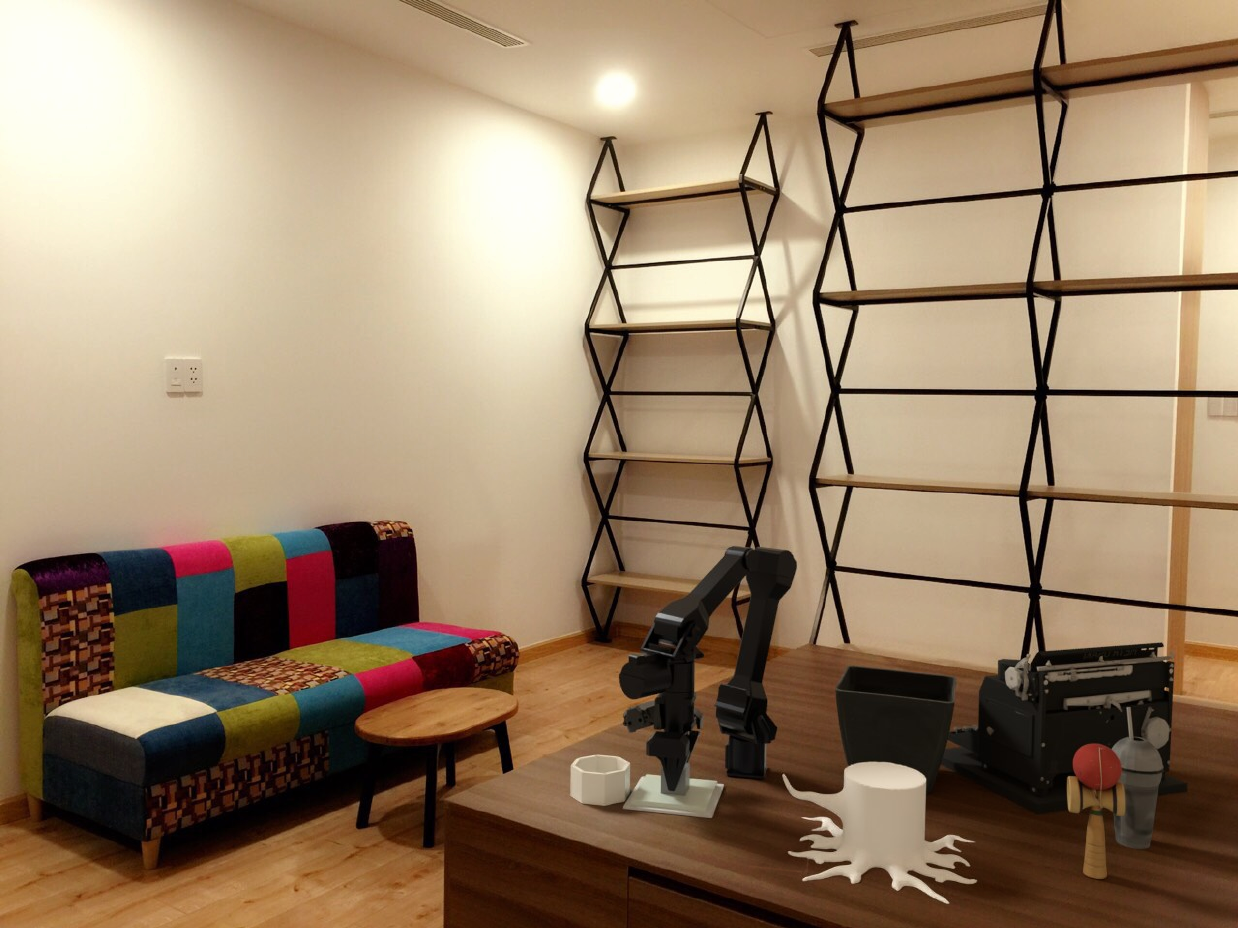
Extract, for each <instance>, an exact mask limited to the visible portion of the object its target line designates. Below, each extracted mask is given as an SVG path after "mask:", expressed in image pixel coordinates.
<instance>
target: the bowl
mask: <svg viewBox="0 0 1238 928" xmlns="http://www.w3.org/2000/svg"><path fill="white" fill-rule="evenodd" d="M569 786H570V789H569V790H570V791H569V793H570V794H569V796H570V797H571V798H573V799H574V800H576V801H577V802H578V803H581V804H584V805H594V806H602V807H605V806H610V805H613V804H619V803H624V802H626V801H627V799H628V798H629V796H630V795H631V762H629V761H628V760H625V759H624V758H622V757H620V756H618V755H617V756H616V755H607V754H605V755H604V754H593V755H592V754H591V755H586V756H581V757H577V758H576V759H575V760H574V761H573V762H572V763H571V764H570V785H569Z"/></svg>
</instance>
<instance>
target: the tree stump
mask: <svg viewBox="0 0 1238 928" xmlns="http://www.w3.org/2000/svg"><path fill="white" fill-rule="evenodd" d="M843 772H844V773H843V789H842V790H841V791H838V792H837V793H830V794H829V793H828V794H827V793H826V794H825V793H820V792H819V793H818V792H815V791H799V790H796V789H795V788H794V787H793V786H792V785H791V783H790V781H789V779H788V778H787V776H786V775H785V773H783V774H782V780H783V782H784V784H785V787H786V788H787V790H788V792H789V793H790V795H792V796H793V797H794V798H796V799H799V800H802V801H809V802H812V803H814V804H816V805H818V806H819V807H821V808H824V809H826V810H828V811H830V812H832V813H833V814H835V815H836V816H838V817H839V819H840V820H841V822H842V829H841V828H840V827H839V826H838V825H836V824H835V823H834V821H833V820H832V819H831V818H830V817H827V816H817V817H806V816H805V817H804V816H803V817H801V818H802V819H805V820H808V821H817V822H818V821H819V822H822V824H821V827H817V828H813V829H811V831H812V832H821V831H822V832H823V831H827V832H828V831H829V833H830V834H831V835H832V836H833V837H826V836H823V835H822V834H821V835H820V834H809V835H804V836H802V837H800V839H799V842H803V841H807V840H809V841H812V842H813V843H812V845H810V848H811V849H821V850H830V849H834V850H836V851H833V852H832V851H831V852H829V851H821V850H808V851H802V852H794V851H790V850H789V851H787V853H788V855H790V856H791V857H792V856H793V857H798V858H806V859H808V860H813V861H815V863H816V864H819V865H822V864H824V863H829V862H830V863H837V862H839V863H841V862H844V861H845V862H846V861H847V862H851V864H847V865H844V864H843V865H837V866H834V867H832V868H829V869H827V870H824V871H822V872H820V873H817V874H812V875H809V876H806V877H804V878H802V882H807V881H814V880H823V879H826V878H830V877H834V876H844V877H847V878H848V879H850V883H851V884H852V885H853V884H857V883H859V882H861V879H862V875H863V874H865V873H866V872H867V871H869V870H870V869H872V868H873V869H874V868H882V869H884V870H885V871H886V872H887V873H888V874H889V875H890V877H891V879H892V883H891V888H893V889H894V890H896V891H900V890H901V889H902V888H903V887H914V888H917V889H918V890H920V891H922V892H923V893H924V894H927V896H929V897H931V898H933V899H936V900H938V901H940V902H943V903H945V904H947V905H949V904H950V902H949V901H948V900H947V899H946V898H945V897H944V896H942V895H940V894H938V893H937V892H935V891H934V890H933V889H931V888H930V887H929V885H927V884H926V883H925V882H924V881H923V880H921V879H920V878H917V877H916V876H913V875H911V874H909V873H908V872H909V871H913V872H915V873H918V874H920V875H922V876H925V877H929V878H933V879H935V881H936V882H938V883H944V882H946V881H953V882H958V883H961V884H966V885H972V884H976V883H977V882H978V880H977V879H973V878H972V879H971V878H970V879H969V878H966V877H963V876H961V875H958V874H956V873H955V872H952V871H950V870H947V869H940V868H934V867H930V866H929V865H927V864H933V865H937V866H939V867H943V868H949V869H952V870H953V869H955V868H956V866H955V865H954V864H955V862H959V863H962V864H964V865H965V866H966V867H971V865H970V863H969V862H968V861H967V860H966V859H965V858H963V857H961V856H959V855H956V854H949V853H948V854H942V853H937V851H938V852H939V851H940V850H941V849H943V848H948V849H950V850H953V851H956V852H959V853H961V852H962V850H961V849H958V848H957V847H955V845H954V842H955V840H958V841H960V842H966V843H967V842H968V843H976V841H973V840H969V839H965V838H962V837H960V836H959V835H954V834H947V835H946V836H943V837H942V838H940V839H937V840H934V841H932V842H931V841H927V840H925V836H926V832H925V831H926V802H927V801H926V800H927V799H926V798H927V794H926V778H925V776H924V775H923V774H922V773H920V772H918V770H915V769H913V768H910V767H907V766H902V765H897V764H894V763H888V762H862V763H856V764H854V765H851V766H848V765H847V767H845V768H844V771H843Z"/></svg>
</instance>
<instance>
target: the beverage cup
mask: <svg viewBox="0 0 1238 928" xmlns="http://www.w3.org/2000/svg"><path fill="white" fill-rule="evenodd" d="M1127 716H1128V727H1129V737H1126V738H1123V739H1121V740H1119V741H1118V742H1117V743H1116V744H1115V745H1114V746H1113V748H1112V750H1113V751H1114V752H1115V753H1116V755H1117V756H1118V758H1119V760H1120V762H1121V766H1122V773H1121V777H1120V779H1119V781H1118V782H1122V783H1123V785H1124V791H1125V814H1124V816H1117V815H1115V814H1114V813H1113V823H1114V824H1113V825H1114V831H1115V832H1114V835H1115V841H1116V842H1117V843H1118V844H1119V845H1121V846H1125V847H1126V848H1130V849H1135V850H1136V849H1137V850H1145V849H1148V848H1150V847H1151V841H1152V837H1153V832H1154V831H1153V830H1154V823H1155V816H1156V815H1155V814H1156V808H1157V802H1158V801H1157V800H1158V796H1157V795H1158V787H1159V784H1160V781H1161V777H1162V772H1163V771H1164V769H1163V767H1162V759H1161V757H1160V754H1159V752H1158V751H1157V749H1156V748H1155V746H1154V745H1152V744H1151V743H1150V742H1149V741H1147V740H1145V739H1143V738H1140V737H1133V729H1132V719H1131V708H1130V707H1127Z"/></svg>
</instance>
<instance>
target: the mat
mask: <svg viewBox="0 0 1238 928" xmlns="http://www.w3.org/2000/svg"><path fill="white" fill-rule="evenodd" d="M644 778H645V776H641V777H640V779H639V780H638V782H637V783H636V786H635V787H634V788H633V790H632V791H631V792H630V794H629V795H628V797H627V798H626V800H625V803H624V804H623V806H622V810H630V811H640V812H648V813H649V812H650V813H657V814H658V813H661V814H668V815H679V816H687V817H690V816H691V817H695V818H696V817H698V818H708V819H712V818H713V816H714V813H715V811H716V808H717V805H718V803H719V801H720V798H721V796H722V792H723V789H724V787H725V785H724V783H717V787H716V790H715V792H714V795H713V797H712V800H711V802H710V805H709V807H708V810H707V812H697V811H687V810H677V809H667V808H658V807H648V806H638V805H631V799H632V797H633V795H634V794H635V792H636V791H637V789H638V787H639V786H640V784H641V782H642V781H643V779H644Z"/></svg>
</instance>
